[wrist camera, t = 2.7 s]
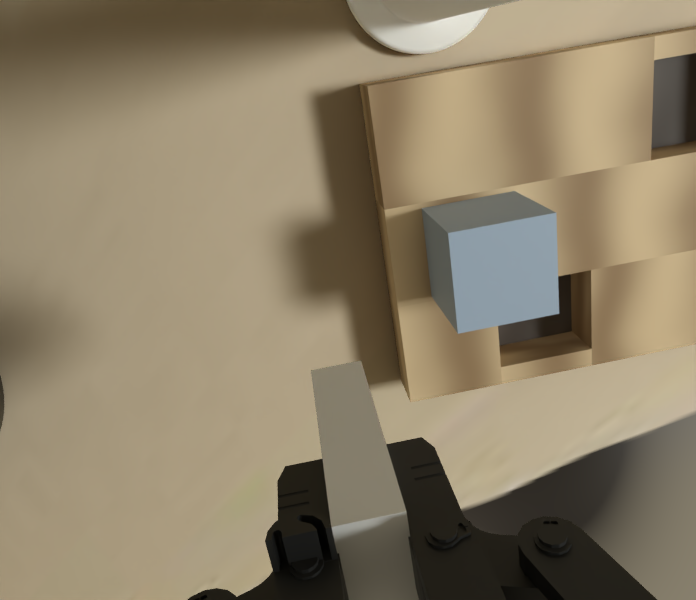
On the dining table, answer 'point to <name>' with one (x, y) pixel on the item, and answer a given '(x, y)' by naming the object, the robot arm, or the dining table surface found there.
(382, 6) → the candle
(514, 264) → the block
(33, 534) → the dining table surface
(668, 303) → the board
